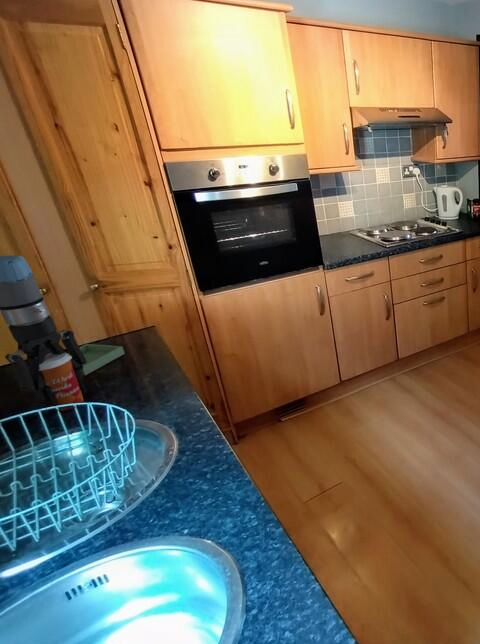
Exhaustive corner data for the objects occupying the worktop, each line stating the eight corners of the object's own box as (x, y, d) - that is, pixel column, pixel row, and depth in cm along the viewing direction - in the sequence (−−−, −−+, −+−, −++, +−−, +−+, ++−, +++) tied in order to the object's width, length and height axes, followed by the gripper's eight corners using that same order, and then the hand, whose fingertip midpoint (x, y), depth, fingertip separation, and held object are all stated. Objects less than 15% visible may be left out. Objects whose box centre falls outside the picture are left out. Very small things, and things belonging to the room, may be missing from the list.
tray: (47, 372, 132) (43, 364, 131) (89, 350, 143) (86, 343, 142) (85, 375, 130) (82, 367, 129) (125, 353, 142) (122, 346, 141)
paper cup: (48, 417, 112) (24, 369, 107) (50, 403, 118) (28, 356, 112) (89, 405, 117) (69, 358, 112) (90, 392, 123) (70, 347, 117)
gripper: (-5, 340, 98) (39, 425, 108) (83, 304, 116) (115, 380, 125) (-34, 338, 99) (12, 422, 108) (58, 303, 117) (91, 378, 126)
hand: (67, 399), depth 117 cm, fingers closed on paper cup, 6 cm apart
